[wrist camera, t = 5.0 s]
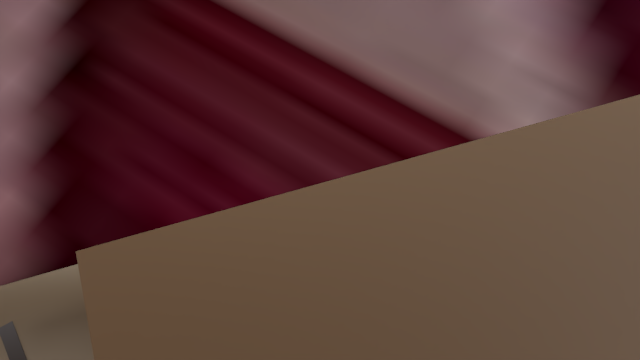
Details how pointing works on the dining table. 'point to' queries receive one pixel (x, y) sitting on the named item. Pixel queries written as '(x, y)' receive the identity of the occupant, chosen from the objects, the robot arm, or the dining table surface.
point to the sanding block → (400, 260)
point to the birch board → (45, 318)
